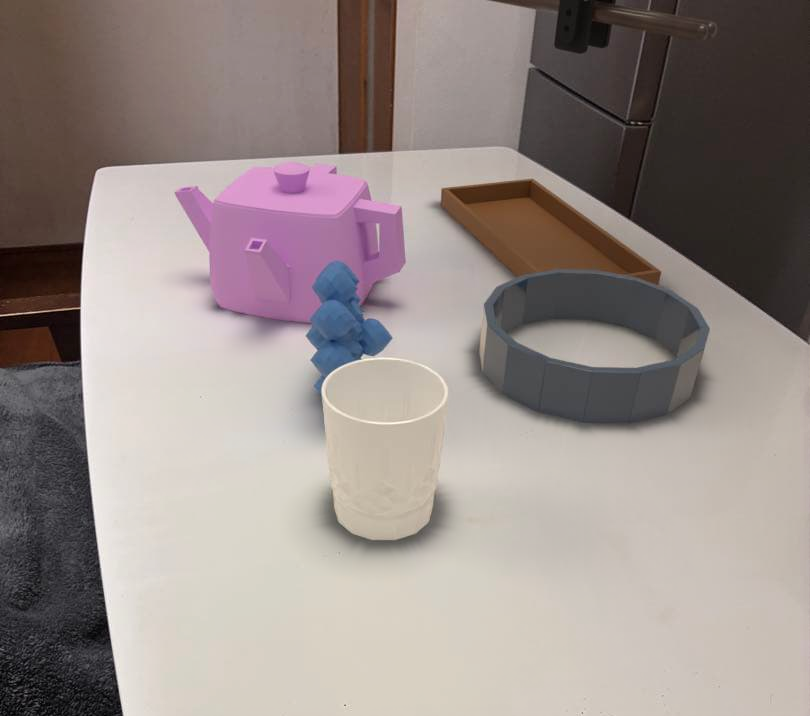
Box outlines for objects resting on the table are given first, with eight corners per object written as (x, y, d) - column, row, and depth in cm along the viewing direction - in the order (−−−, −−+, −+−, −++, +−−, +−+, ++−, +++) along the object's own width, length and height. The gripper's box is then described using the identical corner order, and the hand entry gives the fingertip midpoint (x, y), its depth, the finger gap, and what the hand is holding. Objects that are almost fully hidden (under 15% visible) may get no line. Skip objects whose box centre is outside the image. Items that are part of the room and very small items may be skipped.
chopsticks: (488, -5, 82) (489, -20, 81) (717, 38, 69) (721, 21, 69) (470, -2, 80) (471, -17, 79) (701, 43, 68) (705, 26, 67)
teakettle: (416, 311, 83) (421, 180, 75) (254, 353, 76) (240, 213, 68) (333, 248, 93) (329, 127, 85) (184, 280, 86) (165, 152, 78)
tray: (440, 209, 103) (441, 187, 102) (530, 198, 107) (532, 178, 105) (550, 311, 84) (553, 287, 82) (656, 294, 87) (661, 271, 85)
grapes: (390, 444, 66) (393, 298, 58) (302, 442, 66) (293, 296, 58) (392, 367, 75) (395, 231, 67) (314, 365, 74) (308, 229, 66)
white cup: (393, 567, 55) (396, 439, 49) (303, 518, 59) (294, 392, 52) (461, 507, 60) (473, 384, 54) (374, 465, 64) (375, 344, 57)
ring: (562, 301, 85) (570, 252, 82) (732, 370, 76) (749, 319, 72) (436, 365, 75) (439, 312, 72) (614, 455, 66) (627, 399, 62)
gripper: (603, -233, 58) (562, 70, 70) (718, -225, 67) (664, 42, 79) (515, -234, 62) (491, 53, 74) (635, -226, 71) (596, 29, 83)
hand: (581, 45), depth 76 cm, fingers closed on chopsticks, 2 cm apart
